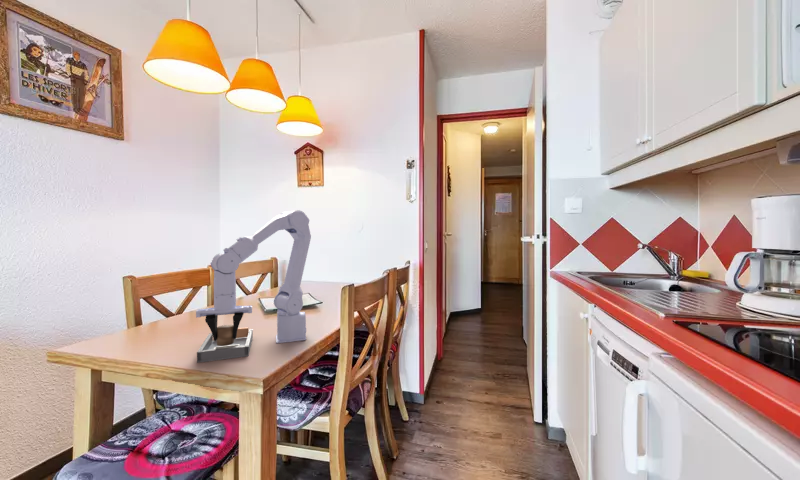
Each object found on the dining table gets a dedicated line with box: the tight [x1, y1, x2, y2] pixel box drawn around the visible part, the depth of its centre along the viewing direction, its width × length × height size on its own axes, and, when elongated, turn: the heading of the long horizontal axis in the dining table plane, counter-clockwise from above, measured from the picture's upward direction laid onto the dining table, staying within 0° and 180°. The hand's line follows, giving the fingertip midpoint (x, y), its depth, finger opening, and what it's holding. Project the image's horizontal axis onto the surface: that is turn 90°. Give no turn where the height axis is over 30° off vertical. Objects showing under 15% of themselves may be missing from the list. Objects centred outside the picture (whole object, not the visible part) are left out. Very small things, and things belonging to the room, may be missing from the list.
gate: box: [213, 326, 249, 341], centre depth 105 cm, size 10×1×3 cm, turn 112°
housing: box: [196, 328, 254, 364], centre depth 97 cm, size 13×17×3 cm
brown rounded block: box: [217, 324, 234, 346], centre depth 93 cm, size 4×4×5 cm
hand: (225, 338), depth 93 cm, fingers closed on brown rounded block, 4 cm apart
